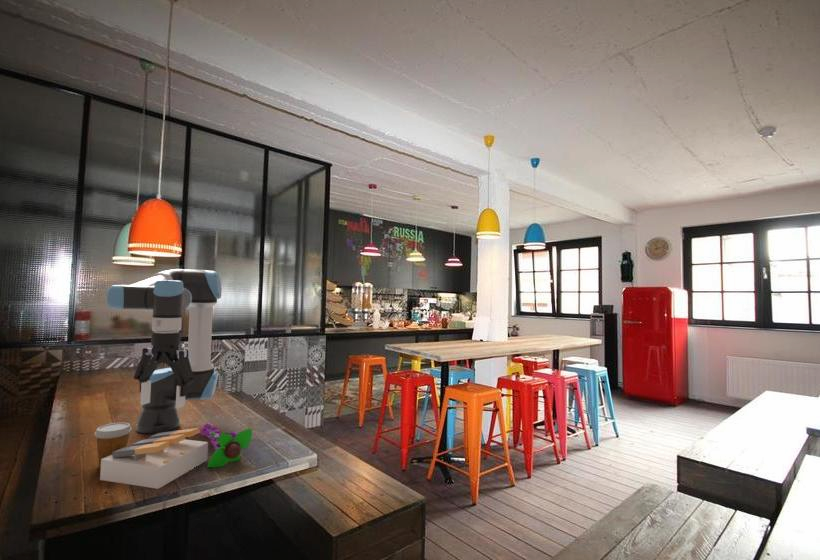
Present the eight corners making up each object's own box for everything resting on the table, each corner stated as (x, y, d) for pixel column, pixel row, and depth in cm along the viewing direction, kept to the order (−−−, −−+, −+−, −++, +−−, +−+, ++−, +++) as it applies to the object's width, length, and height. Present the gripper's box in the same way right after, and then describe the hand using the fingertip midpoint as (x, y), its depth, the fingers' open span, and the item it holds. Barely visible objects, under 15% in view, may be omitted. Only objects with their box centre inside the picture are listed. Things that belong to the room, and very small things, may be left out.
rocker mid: (131, 449, 125) (131, 444, 125) (142, 444, 129) (142, 439, 129) (175, 443, 122) (174, 438, 122) (185, 439, 126) (184, 434, 126)
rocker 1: (112, 457, 118) (111, 452, 118) (124, 452, 122) (124, 447, 122) (158, 451, 115) (157, 446, 115) (169, 446, 119) (168, 441, 119)
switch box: (100, 479, 117) (101, 454, 117) (155, 453, 137) (157, 431, 137) (158, 488, 113) (159, 462, 113) (207, 460, 133) (208, 437, 133)
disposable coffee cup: (105, 458, 131) (108, 421, 132) (136, 458, 132) (138, 422, 133) (84, 471, 122) (87, 431, 122) (117, 471, 123) (119, 432, 123)
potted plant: (221, 485, 125) (192, 457, 151) (266, 447, 135) (232, 427, 161) (200, 455, 121) (174, 431, 147) (248, 418, 132) (216, 402, 158)
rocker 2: (149, 442, 131) (148, 437, 131) (159, 437, 135) (158, 433, 135) (191, 436, 128) (190, 431, 128) (200, 432, 132) (199, 427, 132)
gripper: (121, 330, 117) (117, 405, 117) (192, 335, 113) (188, 412, 112) (143, 328, 125) (139, 398, 124) (210, 332, 120) (206, 405, 119)
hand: (162, 405), depth 118 cm, fingers open, 11 cm apart
